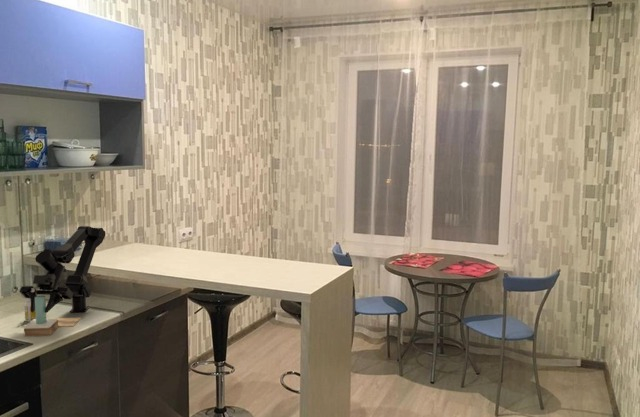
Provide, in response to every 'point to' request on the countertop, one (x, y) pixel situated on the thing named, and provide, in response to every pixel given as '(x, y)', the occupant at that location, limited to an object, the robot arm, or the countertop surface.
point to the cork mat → (67, 322)
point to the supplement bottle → (29, 311)
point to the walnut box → (41, 330)
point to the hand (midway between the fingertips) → (38, 312)
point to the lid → (40, 315)
